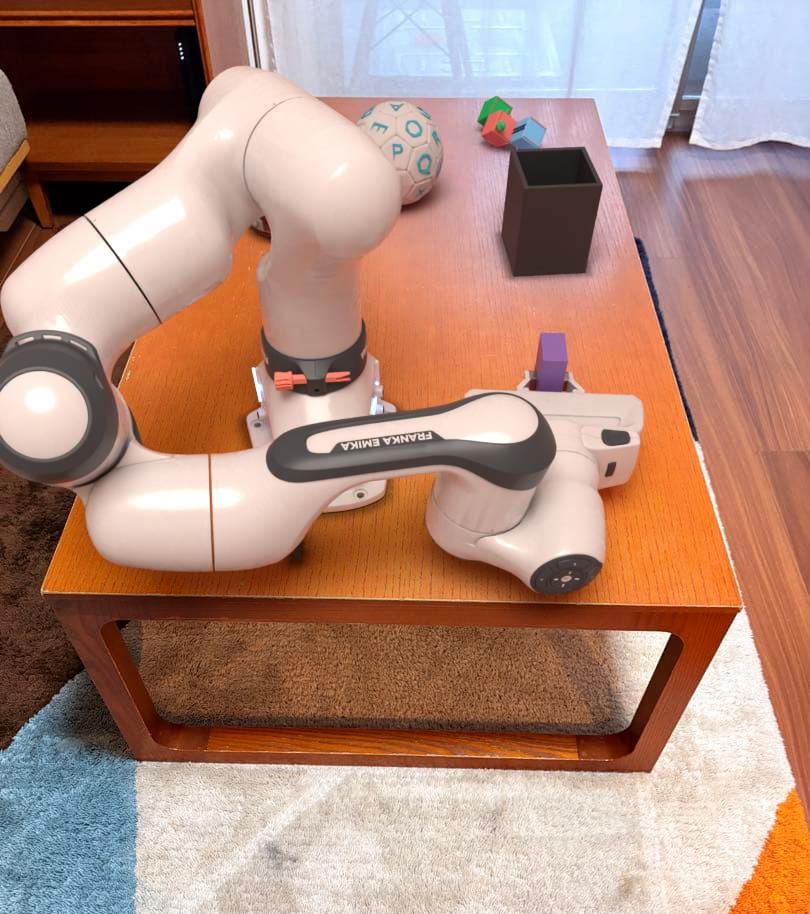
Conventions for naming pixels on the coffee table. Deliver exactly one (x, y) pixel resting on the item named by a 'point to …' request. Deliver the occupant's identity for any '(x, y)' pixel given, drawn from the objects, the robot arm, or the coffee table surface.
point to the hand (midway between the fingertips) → (547, 375)
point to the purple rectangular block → (551, 362)
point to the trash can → (550, 210)
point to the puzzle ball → (407, 144)
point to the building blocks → (508, 126)
